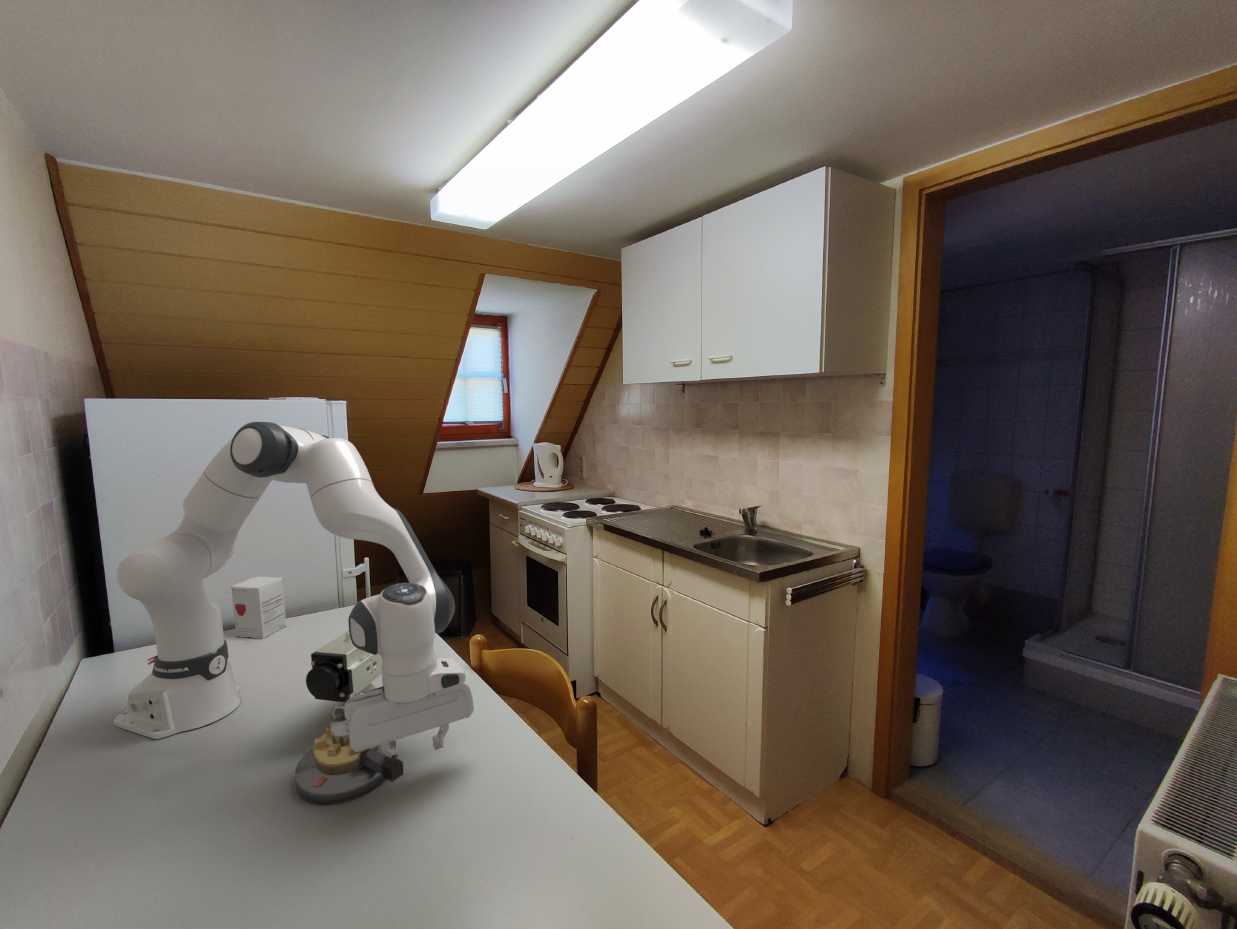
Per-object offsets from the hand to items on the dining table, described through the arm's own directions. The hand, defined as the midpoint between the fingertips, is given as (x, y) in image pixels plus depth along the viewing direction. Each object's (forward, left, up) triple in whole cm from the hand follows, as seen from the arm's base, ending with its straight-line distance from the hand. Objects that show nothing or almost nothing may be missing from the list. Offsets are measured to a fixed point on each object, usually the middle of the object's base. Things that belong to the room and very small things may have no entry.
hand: (415, 754), depth 95 cm
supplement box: (-77, +49, -4) cm, 91 cm away
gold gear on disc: (-13, -1, -4) cm, 13 cm away
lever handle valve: (-9, -2, -1) cm, 9 cm away
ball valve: (-23, +16, -4) cm, 28 cm away
